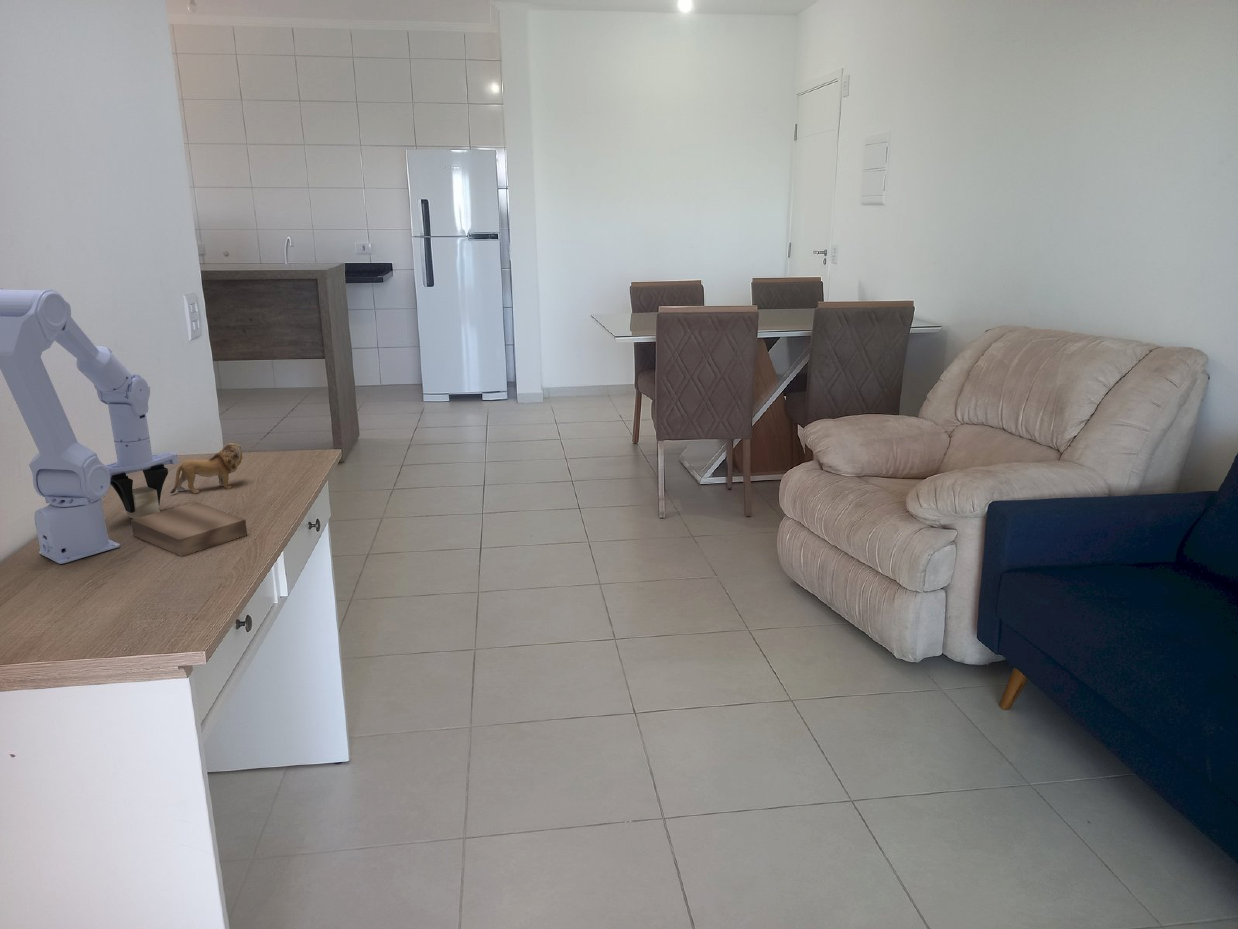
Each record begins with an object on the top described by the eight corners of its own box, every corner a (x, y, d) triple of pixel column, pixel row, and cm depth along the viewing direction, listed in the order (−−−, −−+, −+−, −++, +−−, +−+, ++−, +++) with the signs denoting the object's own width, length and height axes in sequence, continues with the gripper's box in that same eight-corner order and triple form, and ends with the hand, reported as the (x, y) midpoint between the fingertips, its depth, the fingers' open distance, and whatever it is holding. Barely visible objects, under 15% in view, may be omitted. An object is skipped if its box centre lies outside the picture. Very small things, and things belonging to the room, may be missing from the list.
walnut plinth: (181, 556, 140) (179, 539, 139) (133, 535, 148) (130, 519, 148) (247, 535, 149) (245, 519, 148) (198, 516, 158) (196, 501, 157)
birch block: (138, 521, 155) (134, 495, 153) (127, 516, 157) (123, 491, 155) (160, 515, 158) (156, 490, 156) (149, 510, 160) (145, 486, 159)
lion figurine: (241, 479, 180) (237, 439, 178) (249, 485, 176) (244, 444, 174) (167, 492, 171) (160, 450, 169) (173, 499, 167) (167, 456, 165)
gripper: (160, 427, 161) (169, 494, 165) (78, 443, 149) (91, 514, 153) (179, 433, 157) (189, 501, 161) (97, 449, 146) (110, 522, 150)
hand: (142, 508), depth 157 cm, fingers closed on birch block, 4 cm apart
